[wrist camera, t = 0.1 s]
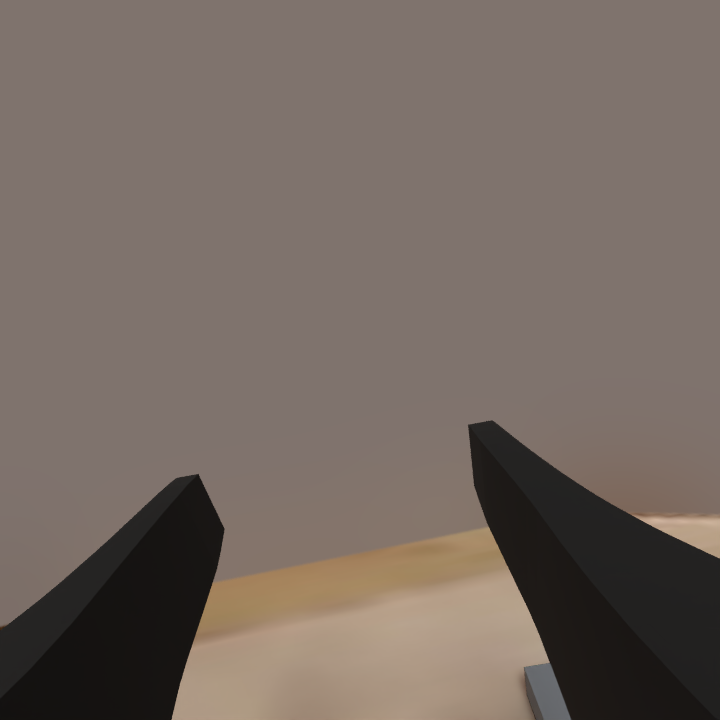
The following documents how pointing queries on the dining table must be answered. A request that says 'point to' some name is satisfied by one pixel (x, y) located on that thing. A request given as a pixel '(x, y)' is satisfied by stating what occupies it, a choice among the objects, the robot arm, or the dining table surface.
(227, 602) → the dining table surface
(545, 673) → the socket board
